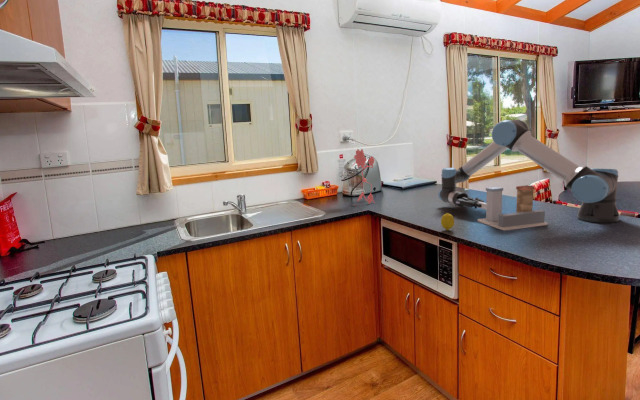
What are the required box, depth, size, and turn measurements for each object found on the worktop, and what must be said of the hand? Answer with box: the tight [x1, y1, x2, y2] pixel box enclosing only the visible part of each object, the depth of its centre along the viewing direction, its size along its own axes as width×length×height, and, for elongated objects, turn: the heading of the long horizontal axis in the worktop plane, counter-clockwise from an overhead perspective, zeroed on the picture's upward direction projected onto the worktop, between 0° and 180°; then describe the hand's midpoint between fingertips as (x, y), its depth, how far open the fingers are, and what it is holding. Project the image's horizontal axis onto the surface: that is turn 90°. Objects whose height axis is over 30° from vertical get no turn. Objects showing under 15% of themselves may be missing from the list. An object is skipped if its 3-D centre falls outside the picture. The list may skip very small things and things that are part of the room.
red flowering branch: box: [351, 148, 376, 207], centre depth 229 cm, size 15×26×35 cm, turn 26°
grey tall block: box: [485, 186, 504, 221], centre depth 167 cm, size 5×6×15 cm
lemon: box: [440, 212, 455, 231], centre depth 160 cm, size 6×6×8 cm
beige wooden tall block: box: [515, 185, 536, 213], centre depth 166 cm, size 5×6×15 cm
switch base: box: [477, 209, 548, 231], centre depth 166 cm, size 18×22×6 cm
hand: (487, 206), depth 171 cm, fingers closed
